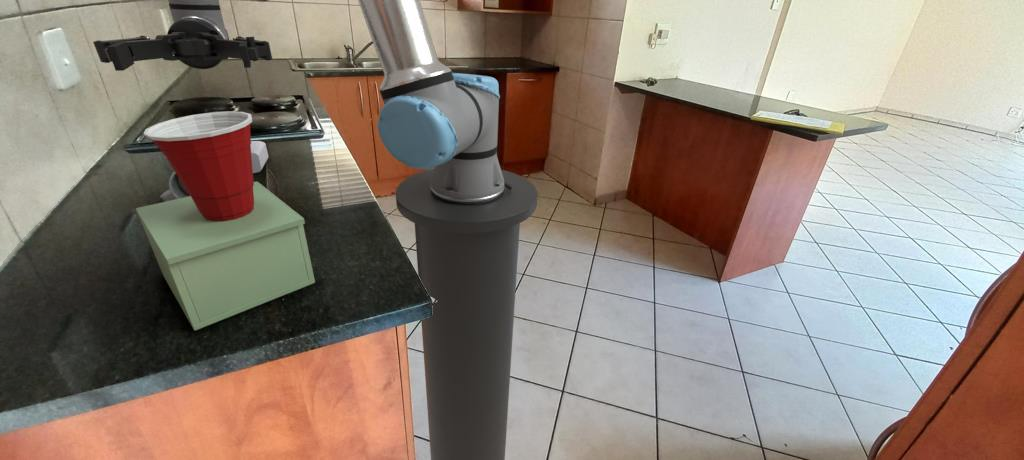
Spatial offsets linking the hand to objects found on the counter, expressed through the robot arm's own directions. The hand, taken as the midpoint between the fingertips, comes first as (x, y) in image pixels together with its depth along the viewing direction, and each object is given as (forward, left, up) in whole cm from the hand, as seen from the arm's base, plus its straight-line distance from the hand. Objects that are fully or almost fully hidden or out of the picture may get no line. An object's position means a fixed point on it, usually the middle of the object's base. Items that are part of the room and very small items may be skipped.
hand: (183, 57), depth 54 cm
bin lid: (-2, +10, -18) cm, 21 cm away
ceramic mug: (+11, -21, -28) cm, 37 cm away
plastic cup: (-3, +10, -18) cm, 20 cm away
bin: (-2, +10, -28) cm, 30 cm away
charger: (+7, -42, -28) cm, 51 cm away
